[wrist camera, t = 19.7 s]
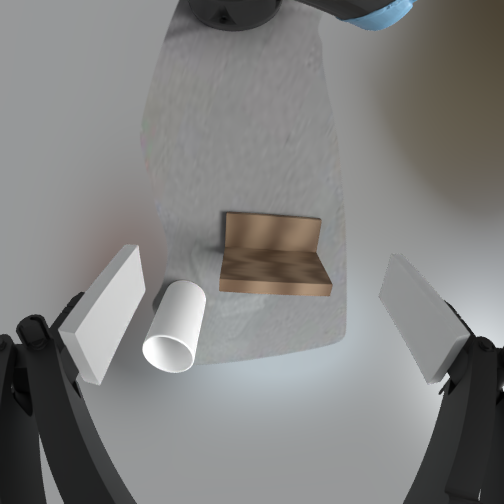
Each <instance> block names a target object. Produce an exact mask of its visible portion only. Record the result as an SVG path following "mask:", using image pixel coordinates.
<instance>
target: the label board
mask: <svg viewBox="0 0 504 504" xmlns="http://www.w3.org/2000/svg"><path fill="white" fill-rule="evenodd" d="M321 221H322V220H321V219H319V218H308V217H297V216H284V215H271V214H257V213H242V212H227V215H226V238H225V250H224V256H223V262H222V268H221V274H220V284H219V291H223V292H239V293H258V294H279V295H306V296H330V293H331V289H332V285H333V284H332V282H331V280H330V278H329V276H328V274H327V272H326V271H325V269H324V267H323V265H322V263H321V261H320V259H319V257H318V255H317V253H316V250H317V245H318V239H319V233H320V227H321Z"/></svg>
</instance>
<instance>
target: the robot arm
mask: <svg viewBox="0 0 504 504" xmlns="http://www.w3.org/2000/svg"><path fill="white" fill-rule="evenodd" d="M295 1H298V2H301V3H303V4H306V5H309V6H312V7H314V8H317V9H319V10H322V11H324V12H327V13H329V14H331V15H334V16H335V17H336V18H337V19H339V20H341V21H345V22H349V23H351V24H354V25H355V26H358V27H360V28H362V29H365V30H373V31H376V30H381V29H384V28H387V27H389V26H391V25H392V24H394V23H395V22H397V21H398V20H400V19H401V18H402V17H403V16H404V15H405V14H406V13H407V12H408V11H409V10H410V9H411V8H412V7H413V6H412V3H413V2H415V1H417V0H295ZM281 3H282V0H189V4H190V6H191V9H192V11H193V13H194V14H195V16H196V17H197V18H198V19H199V20H200V21H201V22H203V23H204V24H206V25H208V26H210V27H213V28H216V29H219V30H225V31H243V30H248V29H252V28H255V27H258V26H260V25H262V24H264V23H266V22H268V21H269V20H270V19H271V18H273V17H274V16H275V14H276V13H277V12H278V10H279V8H280V6H281ZM145 291H146V289H145V284H144V278H143V273H142V267H141V261H140V254H139V247H138V245H124V246H123V248H122V249H121V250H120V251H119V252H118V253H117V255H116V256H115V257H114V258H113V259H112V260H111V262H110V263H109V264H108V265H107V266H106V268H105V269H104V270H103V271H102V273H101V274H100V275H99V276H98V278H97V279H96V280H95V281H94V282H93V284H92V285H91V286H90V287H89V289H88V290H87V291H86V292H80V293H79V294H78V295H76V296H75V297H73V298H72V299H71V301H70V302H69V303H68V304H67V307H65V308H64V310H63V311H62V313H60V315H59V316H58V317H57V319H56V320H55V321H54V323H53V324H52V326H51V327H50V328H48V325H47V324H46V321H45V319H44V317H43V316H41V315H36V314H35V315H30V316H28V317H26V318H24V319H23V320H22V321H20V323H19V324H18V325H17V328H16V332H17V334H18V336H19V338H20V340H21V342H22V344H14V342H13V340H12V339H11V337H10V336H9V335H7V334H2V335H0V504H47V503H46V497H45V492H44V485H43V479H42V471H41V461H40V448H39V434H40V438H41V441H42V445H43V448H44V452H45V455H46V458H47V461H48V464H49V467H50V470H51V472H52V475H53V477H54V480H55V483H56V485H57V487H58V490H59V493H60V495H61V497H62V499H63V502H64V504H137V503H136V502H135V500H134V499H133V497H132V496H131V494H130V492H129V491H128V489H127V488H126V486H125V484H124V483H123V481H122V479H121V477H120V476H119V474H118V472H117V470H116V469H115V467H114V465H113V463H112V461H111V459H110V457H109V455H108V453H107V451H106V449H105V447H104V445H103V443H102V441H101V439H100V437H99V435H98V433H97V430H96V428H95V426H94V423H93V421H92V419H91V416H90V414H89V411H88V409H87V406H86V404H85V401H84V398H83V395H82V393H81V390H80V387H79V384H78V382H77V381H76V377H77V375H78V373H80V375H81V376H82V378H83V380H84V381H85V382H89V383H93V384H97V385H100V384H101V382H102V379H103V377H104V375H105V373H106V370H107V368H108V366H109V364H110V361H111V360H112V357H113V355H114V353H115V351H116V349H117V346H118V345H119V342H120V340H121V338H122V336H123V334H124V332H125V330H126V328H127V326H128V324H129V322H130V320H131V318H132V316H133V314H134V312H135V310H136V308H137V306H138V304H139V303H140V301H141V299H142V297H143V295H144V293H145ZM379 298H380V300H381V301H382V303H383V305H384V306H385V308H386V310H387V311H388V313H389V315H390V316H391V318H392V320H393V321H394V323H395V325H396V327H397V328H398V330H399V332H400V333H401V335H402V337H403V339H404V340H405V342H406V344H407V346H408V348H409V350H410V351H411V353H412V355H413V357H414V359H415V361H416V363H417V365H418V366H419V368H420V370H421V372H422V374H423V376H424V378H425V380H426V382H427V384H428V385H429V384H433V383H436V382H440V381H441V380H442V379H443V377H444V376H445V374H446V373H447V372H448V374H449V376H450V378H449V380H448V381H447V382H446V384H445V385H444V386H443V388H442V389H441V390H440V392H439V395H440V394H441V393H442V392H443V391H444V395H443V400H442V403H441V407H440V411H439V414H438V418H437V421H436V424H435V428H434V431H433V434H432V437H431V439H430V443H429V445H428V448H427V451H426V453H425V456H424V459H423V461H422V463H421V466H420V468H419V471H418V473H417V475H416V477H415V480H414V482H413V484H412V486H411V488H410V491H409V492H408V494H407V496H406V498H405V500H404V503H403V504H504V392H503V388H502V387H503V386H504V347H503V348H496V347H495V345H494V344H493V343H492V342H491V341H490V340H489V339H487V338H485V337H482V336H480V337H476V336H475V335H474V333H473V332H472V331H471V329H470V328H469V327H468V325H467V324H466V323H465V322H464V320H462V319H461V317H460V316H459V314H457V312H456V311H455V309H454V308H453V307H452V306H451V305H450V304H449V303H447V302H446V301H445V300H443V299H442V298H441V297H440V295H439V294H438V293H437V292H436V291H435V290H434V288H433V287H432V286H431V285H430V284H429V283H428V282H427V280H426V279H425V278H424V277H423V276H422V275H421V274H420V273H419V271H418V270H416V268H415V267H414V266H413V265H412V264H411V263H410V262H409V261H408V260H407V259H406V257H405V256H403V255H402V254H391V257H390V260H389V264H388V267H387V271H386V275H385V278H384V282H383V284H382V288H381V291H380V294H379ZM11 386H12V388H11ZM480 489H481V493H480ZM479 493H480V501H479V499H478V497H479Z"/></svg>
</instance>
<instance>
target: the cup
mask: <svg viewBox="0 0 504 504" xmlns="http://www.w3.org/2000/svg"><path fill="white" fill-rule="evenodd" d="M205 303H206V297H205V294H204V292H203V290H202V289H201V288H200V287H199V286H198V285H196V284H195V283H193V282H190V281H185V280H180V281H176V282H173V283H172V284H170V285H169V286H168V288H167V290H166V292H165V294H164V296H163V299H162V301H161V303H160V305H159V308H158V310H157V312H156V315H155V317H154V319H153V322H152V324H151V326H150V329H149V331H148V334H147V336H146V339H145V341H144V343H143V354H144V356H145V358H146V359H147V360H148V361H149V362H150V363H151V364H152V365H153V366H155V367H157V368H158V369H161V370H163V371H167V372H182V371H185V370H187V369H189V368H190V367H191V366H192V364H193V362H194V357H195V352H196V347H197V342H198V337H199V332H200V327H201V322H202V318H203V313H204V308H205Z"/></svg>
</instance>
